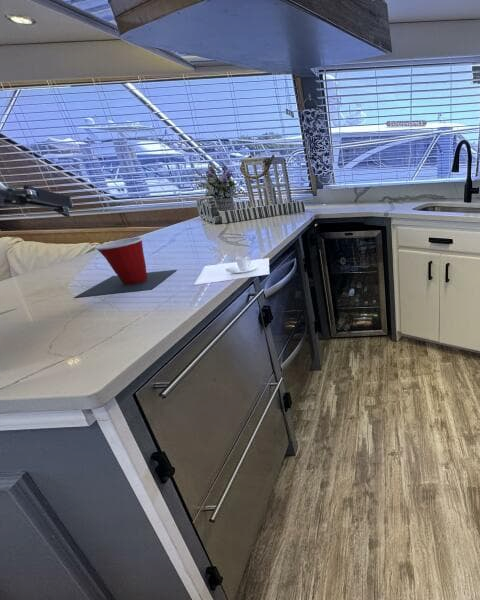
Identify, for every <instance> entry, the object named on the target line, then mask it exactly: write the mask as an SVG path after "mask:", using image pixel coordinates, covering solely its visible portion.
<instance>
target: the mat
mask: <svg viewBox="0 0 480 600" xmlns="http://www.w3.org/2000/svg"><path fill="white" fill-rule="evenodd" d="M177 271H178V269H170V270H160V271H159V270H158V271H149V272H147V280H145V281H143V282H140V283H136V284H127V285H126V284H123V282H122V281H121V280H120V278H119V277H118V275H112V276H110V277H108V278H106V279H105V280H103V281H101V282H99V283H97V284H95V285H94V286H92V287H90V288H88V289H86V290H85V291H83V292H80V294H77V295H75V296H74V297H73V299H76V298H77V299H78V298H86V297H94V296H95V297H96V296H105V295H114V294H115V295H116V294H122V293H123V294H124V293H131V292H133V293H134V292H140V291H141V292H142V291H151V290H153V289H155V288H156V287H157V286H159V285H160V284H161V283H163V282H164V281H165V280H166V279H168V278H169V277H170V276H171V275H173V274H174V273H175V272H177Z"/></svg>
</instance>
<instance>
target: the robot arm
mask: <svg viewBox="0 0 480 600" xmlns="http://www.w3.org/2000/svg"><path fill="white" fill-rule="evenodd" d="M4 206H7V207H18V208H20V207H24V206H27V207H28V206H29V207H36V208H43V209H44V208H45V209H52V210H53V211H54V212H56V213H58V214H59V215H62V216H63V217H66V218H69V217H71V214H70V209H74V204H73V200H72V196H69V195H66V194H61V193H57V192H53V191H50V190H49V191H48V190H45V189H41V188H37V187H35V186H32V185H29V184H24V185H22V189H20V188H18V187H17V188H16V187H11V186H6V185H5V184H3V183H2V182H1V181H0V207H4Z"/></svg>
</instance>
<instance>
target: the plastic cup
mask: <svg viewBox="0 0 480 600" xmlns="http://www.w3.org/2000/svg"><path fill="white" fill-rule="evenodd" d="M143 240H144V239H143V237H142V236H135V237H129V238H122V239H117V240H116V239H115V240H113V241H109V242H105V243H104V242H103V243H101V244H98V245H96V246H94V249H95V250H97V251H98V252H99V253H100V255H102V256H103V258H105V259H106V261H107V263H108V264H109V266H110V267H111V268H112V270H113V272H114V273H115V275H116V276H118V277H119V278H120V280H121V281H122V282H123V284H126V285H127V284H136V283H140V282H143V281H145V280H147V273H148V272H147V264H146V259H145V254H144V247H143V246H144V245H143Z"/></svg>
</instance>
